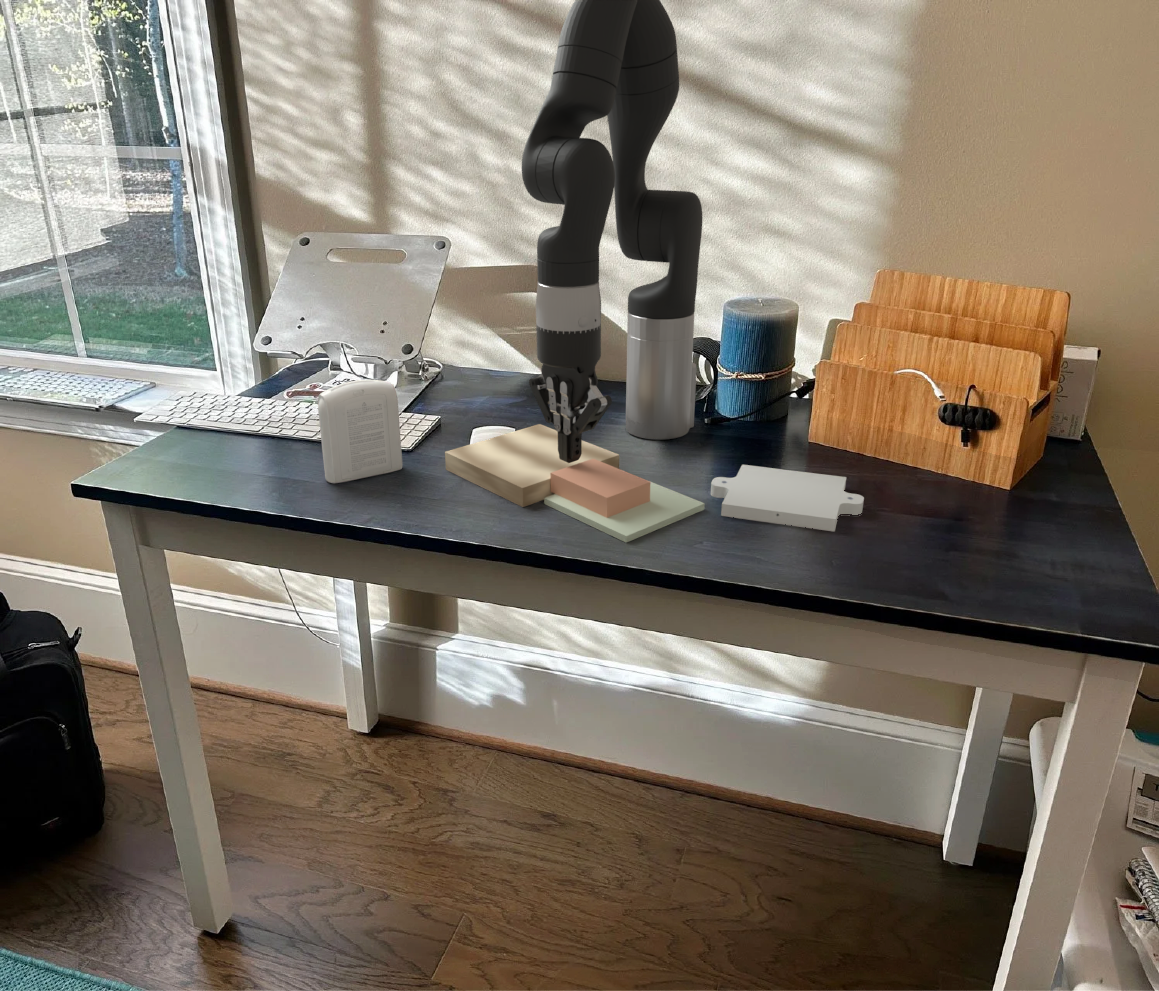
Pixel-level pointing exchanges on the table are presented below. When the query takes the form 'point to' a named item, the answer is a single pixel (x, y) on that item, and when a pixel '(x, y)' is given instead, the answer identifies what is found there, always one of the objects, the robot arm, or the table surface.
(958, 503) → the table surface
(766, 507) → the mounting plate
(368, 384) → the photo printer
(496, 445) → the block
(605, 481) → the tile
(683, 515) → the mat
